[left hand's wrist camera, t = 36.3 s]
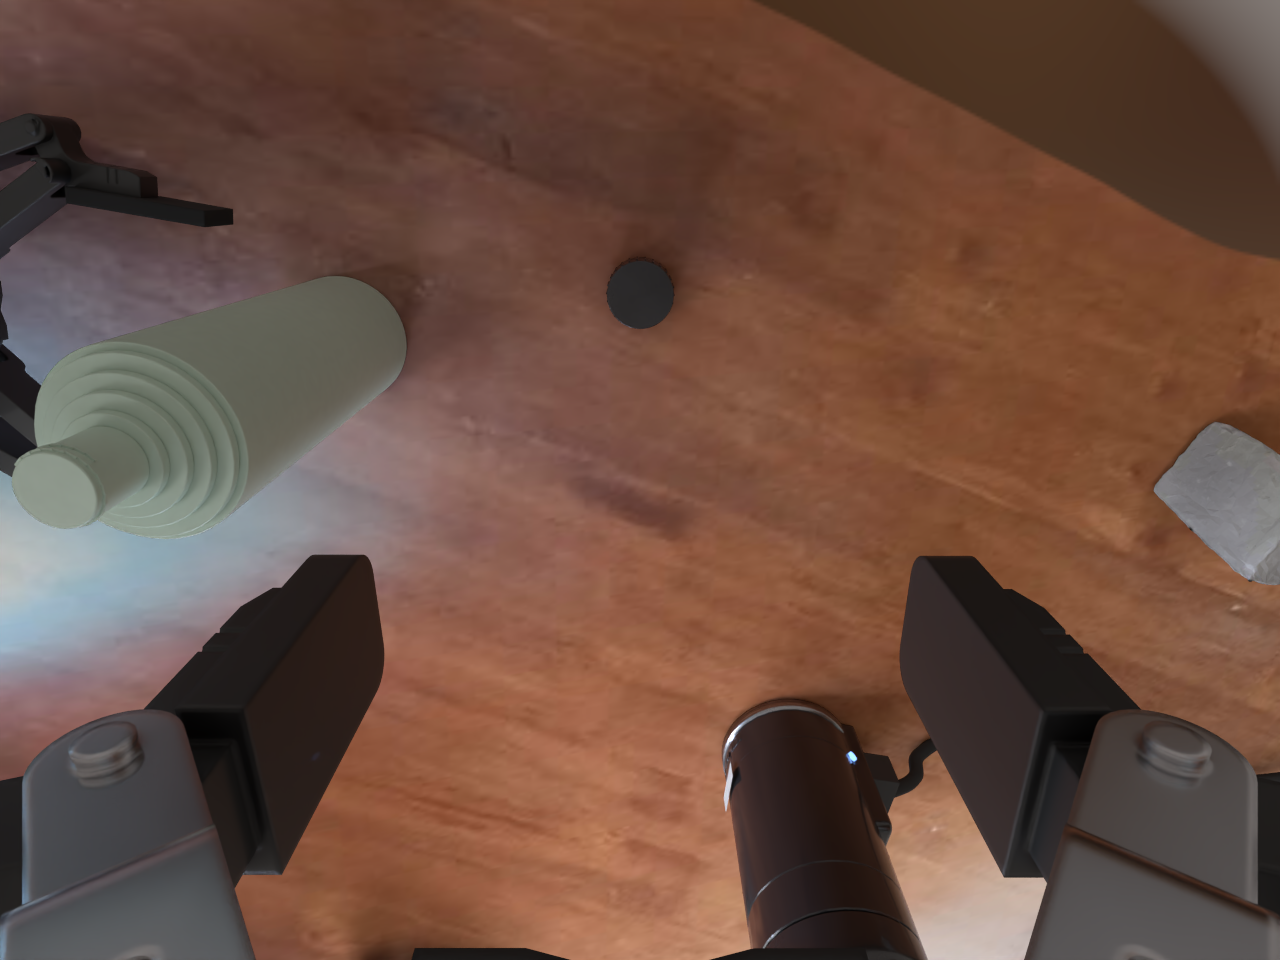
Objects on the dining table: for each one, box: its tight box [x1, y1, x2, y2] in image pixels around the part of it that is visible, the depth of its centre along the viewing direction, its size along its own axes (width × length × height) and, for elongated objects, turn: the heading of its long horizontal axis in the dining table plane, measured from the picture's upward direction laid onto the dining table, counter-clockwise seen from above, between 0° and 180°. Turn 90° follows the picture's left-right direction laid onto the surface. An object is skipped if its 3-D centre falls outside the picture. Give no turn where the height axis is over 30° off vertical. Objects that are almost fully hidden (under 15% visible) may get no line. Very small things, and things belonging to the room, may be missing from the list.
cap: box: [606, 257, 674, 329], centre depth 44 cm, size 4×4×2 cm
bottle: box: [12, 276, 407, 539], centre depth 34 cm, size 8×8×24 cm
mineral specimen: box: [1154, 422, 1280, 585], centre depth 46 cm, size 7×9×8 cm
